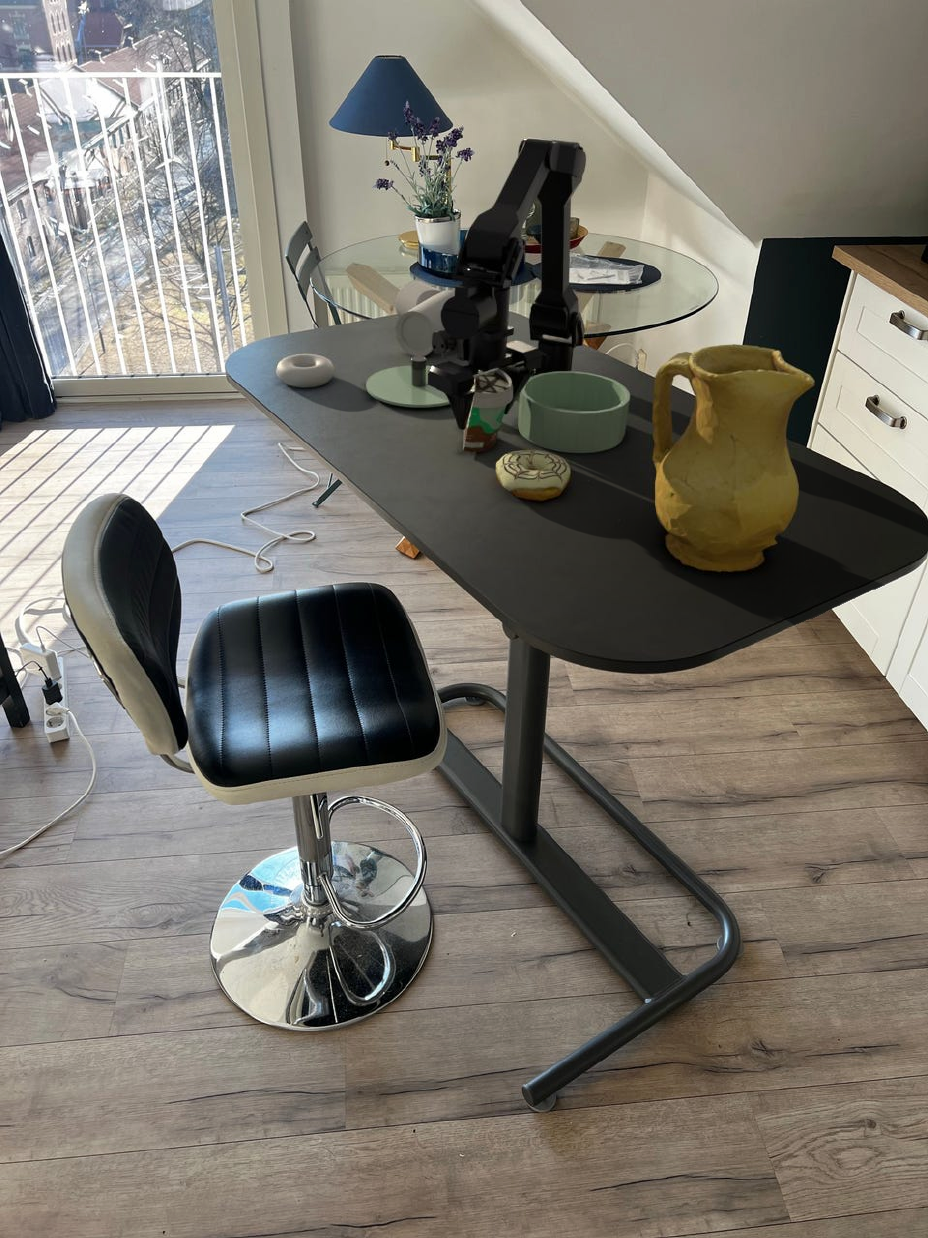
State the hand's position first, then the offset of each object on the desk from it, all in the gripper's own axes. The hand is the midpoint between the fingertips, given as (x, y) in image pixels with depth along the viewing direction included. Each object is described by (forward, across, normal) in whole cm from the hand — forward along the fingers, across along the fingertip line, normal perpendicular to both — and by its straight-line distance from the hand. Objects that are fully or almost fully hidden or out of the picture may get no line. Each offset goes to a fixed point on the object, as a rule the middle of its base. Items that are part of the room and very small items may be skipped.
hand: (483, 421), depth 140 cm
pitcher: (+4, -1, +41) cm, 41 cm away
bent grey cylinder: (+4, -24, -40) cm, 47 cm away
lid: (+3, -6, -22) cm, 23 cm away
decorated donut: (+4, +5, +15) cm, 16 cm away
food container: (+3, 0, 0) cm, 3 cm away
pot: (+3, -14, +6) cm, 16 cm away
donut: (+4, +6, -38) cm, 39 cm away
